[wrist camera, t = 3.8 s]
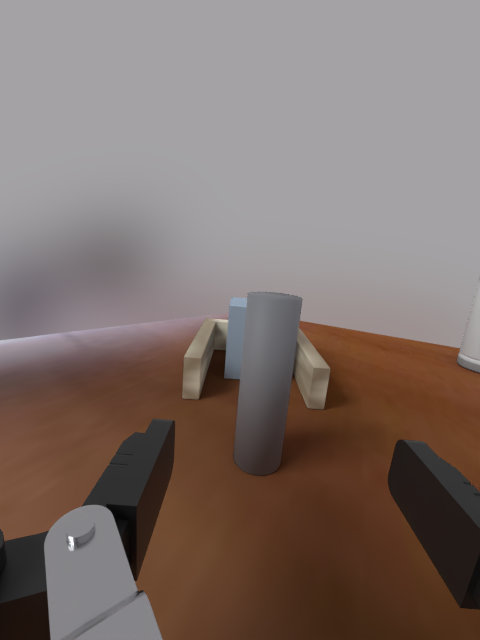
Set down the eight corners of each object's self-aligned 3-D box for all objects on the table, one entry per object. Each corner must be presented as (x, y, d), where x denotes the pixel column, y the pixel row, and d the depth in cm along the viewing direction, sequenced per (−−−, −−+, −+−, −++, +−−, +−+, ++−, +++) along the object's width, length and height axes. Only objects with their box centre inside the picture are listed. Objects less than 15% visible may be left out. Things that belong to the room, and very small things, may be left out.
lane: (182, 398, 26) (183, 357, 25) (204, 345, 41) (206, 318, 40) (323, 409, 26) (330, 368, 25) (294, 352, 41) (297, 325, 40)
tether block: (209, 471, 18) (221, 295, 15) (226, 358, 37) (233, 272, 34) (306, 479, 18) (334, 304, 15) (273, 362, 37) (283, 276, 34)
